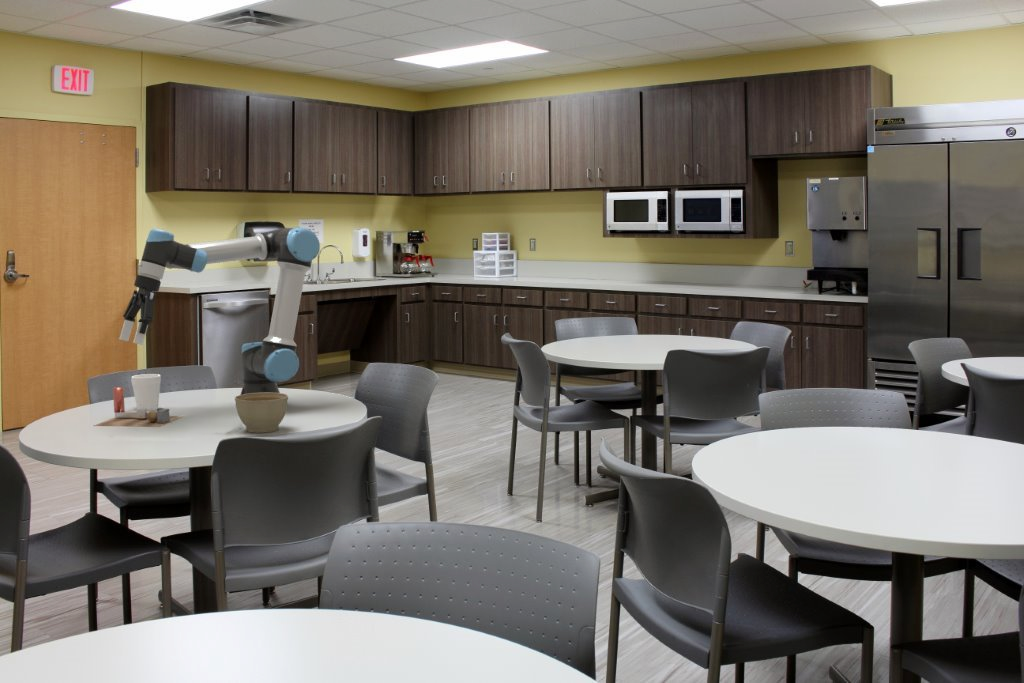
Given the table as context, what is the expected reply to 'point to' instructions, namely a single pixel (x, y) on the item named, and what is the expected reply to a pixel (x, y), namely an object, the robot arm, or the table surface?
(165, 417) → the two-tone textured tile
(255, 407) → the planter bowl
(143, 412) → the lever
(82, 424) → the table surface
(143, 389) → the foam cup
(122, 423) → the board
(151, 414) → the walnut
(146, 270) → the robot arm
